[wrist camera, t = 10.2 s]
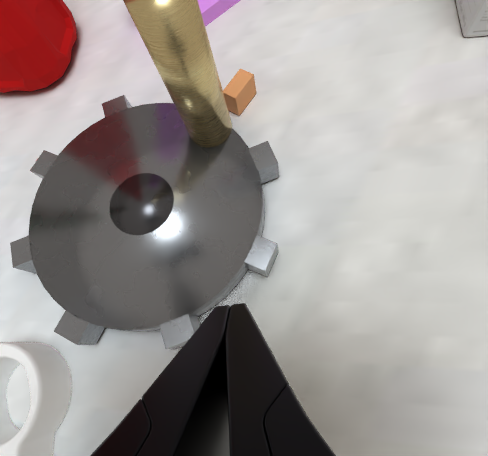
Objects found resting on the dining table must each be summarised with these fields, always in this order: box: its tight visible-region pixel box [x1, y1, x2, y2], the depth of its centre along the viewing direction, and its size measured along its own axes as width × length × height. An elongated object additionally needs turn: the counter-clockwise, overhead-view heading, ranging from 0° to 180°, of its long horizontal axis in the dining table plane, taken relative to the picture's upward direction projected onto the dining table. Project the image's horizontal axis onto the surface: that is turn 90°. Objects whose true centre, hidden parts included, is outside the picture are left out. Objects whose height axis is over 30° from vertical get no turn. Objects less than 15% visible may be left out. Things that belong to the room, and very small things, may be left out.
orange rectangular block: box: [223, 69, 256, 116], centre depth 26 cm, size 2×1×2 cm, turn 146°
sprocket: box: [10, 0, 279, 349], centre depth 18 cm, size 19×19×12 cm
